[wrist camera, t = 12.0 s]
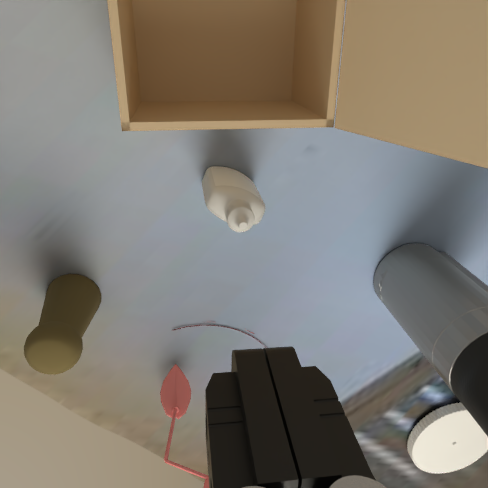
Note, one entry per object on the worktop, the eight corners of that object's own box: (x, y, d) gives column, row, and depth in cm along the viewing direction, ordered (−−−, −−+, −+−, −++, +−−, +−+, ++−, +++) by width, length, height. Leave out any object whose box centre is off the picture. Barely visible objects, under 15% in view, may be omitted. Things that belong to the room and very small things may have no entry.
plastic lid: (502, 405, 69) (513, 417, 67) (457, 464, 74) (466, 478, 72) (431, 390, 66) (440, 403, 63) (389, 454, 71) (396, 468, 68)
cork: (60, 265, 48) (30, 323, 38) (110, 288, 50) (94, 349, 40) (37, 304, 50) (3, 370, 40) (86, 325, 52) (65, 392, 42)
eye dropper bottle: (227, 150, 45) (243, 185, 35) (259, 189, 48) (283, 233, 37) (195, 176, 46) (201, 218, 35) (228, 213, 48) (243, 263, 38)
